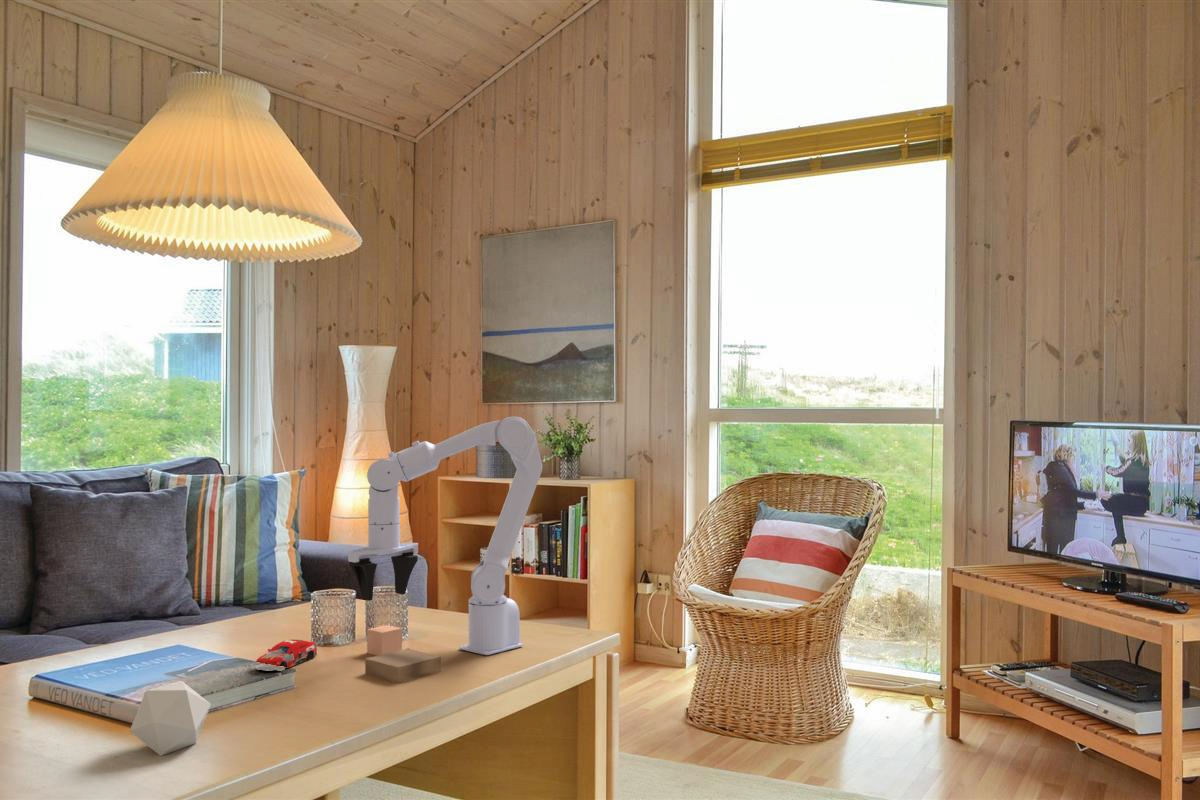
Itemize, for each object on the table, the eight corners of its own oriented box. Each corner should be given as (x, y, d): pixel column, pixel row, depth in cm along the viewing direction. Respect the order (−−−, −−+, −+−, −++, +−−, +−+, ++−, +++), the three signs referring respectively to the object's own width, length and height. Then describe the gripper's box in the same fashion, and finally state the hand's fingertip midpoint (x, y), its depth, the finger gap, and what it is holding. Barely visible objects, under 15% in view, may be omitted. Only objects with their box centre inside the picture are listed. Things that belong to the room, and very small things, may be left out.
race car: (274, 676, 159) (274, 653, 159) (248, 674, 161) (248, 650, 161) (322, 657, 171) (322, 635, 171) (297, 655, 173) (297, 633, 173)
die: (210, 758, 121) (228, 683, 128) (149, 739, 116) (171, 662, 122) (170, 770, 125) (190, 697, 132) (109, 753, 120) (133, 677, 126)
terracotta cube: (387, 648, 177) (387, 625, 177) (401, 652, 174) (401, 628, 174) (367, 653, 174) (367, 629, 174) (381, 657, 171) (381, 632, 171)
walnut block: (407, 665, 166) (407, 648, 166) (440, 674, 160) (440, 656, 160) (365, 676, 159) (365, 658, 159) (398, 685, 153) (398, 667, 153)
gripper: (401, 518, 182) (401, 588, 182) (338, 525, 171) (338, 600, 171) (425, 521, 178) (425, 592, 177) (361, 528, 166) (361, 604, 166)
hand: (384, 596), depth 174 cm, fingers open, 7 cm apart
